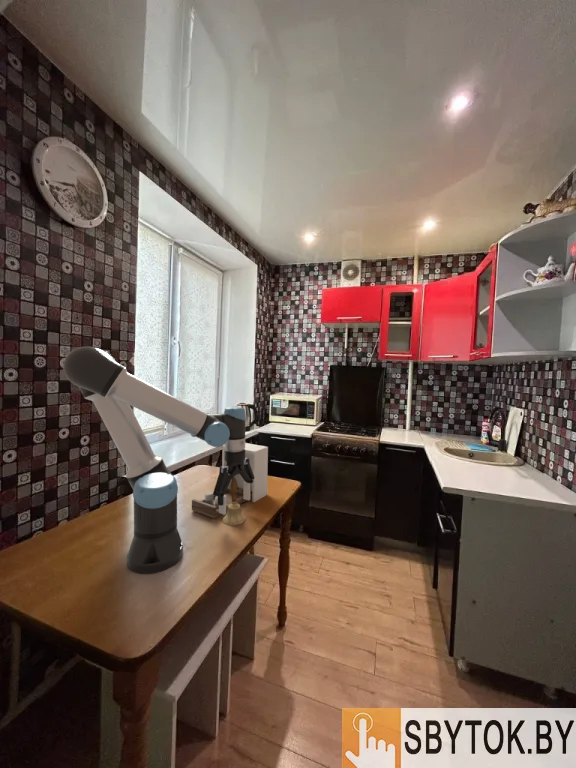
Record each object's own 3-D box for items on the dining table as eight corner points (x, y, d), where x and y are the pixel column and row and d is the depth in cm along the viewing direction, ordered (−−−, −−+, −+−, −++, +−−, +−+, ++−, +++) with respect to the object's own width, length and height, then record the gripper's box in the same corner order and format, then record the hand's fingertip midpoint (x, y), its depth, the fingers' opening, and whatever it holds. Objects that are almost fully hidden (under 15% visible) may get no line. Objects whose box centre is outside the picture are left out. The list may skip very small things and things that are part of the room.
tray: (214, 518, 115) (214, 505, 115) (191, 510, 121) (191, 497, 121) (248, 499, 132) (248, 487, 132) (226, 493, 139) (227, 482, 138)
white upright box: (220, 521, 114) (221, 463, 113) (186, 509, 123) (187, 455, 122) (267, 494, 139) (267, 446, 138) (235, 486, 148) (236, 441, 147)
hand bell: (233, 528, 110) (234, 483, 109) (217, 520, 115) (218, 477, 114) (250, 519, 116) (250, 477, 116) (234, 512, 121) (235, 472, 121)
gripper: (218, 459, 102) (218, 523, 103) (263, 443, 123) (263, 496, 124) (202, 456, 106) (202, 517, 107) (248, 441, 127) (248, 492, 128)
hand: (235, 506), depth 115 cm, fingers open, 13 cm apart
